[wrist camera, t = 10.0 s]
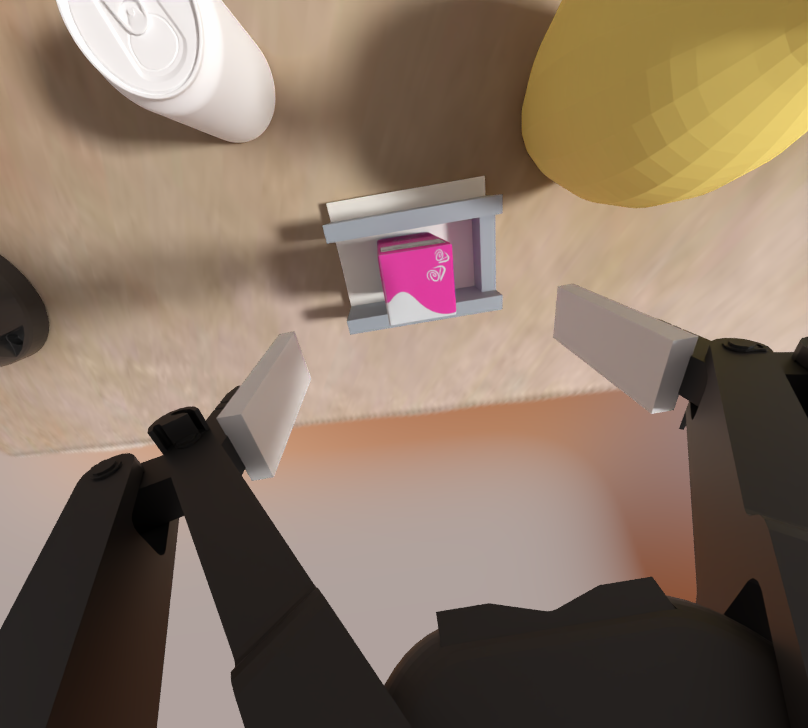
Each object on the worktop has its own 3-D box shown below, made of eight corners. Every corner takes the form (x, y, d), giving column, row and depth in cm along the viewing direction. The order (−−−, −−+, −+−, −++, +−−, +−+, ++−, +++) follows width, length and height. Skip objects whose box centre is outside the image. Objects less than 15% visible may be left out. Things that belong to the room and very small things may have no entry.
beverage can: (227, 162, 29) (139, 139, 19) (157, 60, 26) (-1, -40, 15) (296, 112, 28) (243, 57, 17) (232, -3, 24) (116, -162, 14)
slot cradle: (358, 329, 38) (354, 349, 33) (327, 203, 31) (316, 203, 26) (485, 307, 38) (502, 324, 32) (482, 176, 31) (502, 170, 26)
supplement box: (436, 284, 35) (457, 318, 25) (385, 292, 35) (385, 328, 25) (431, 230, 32) (453, 242, 22) (375, 238, 32) (372, 255, 22)
